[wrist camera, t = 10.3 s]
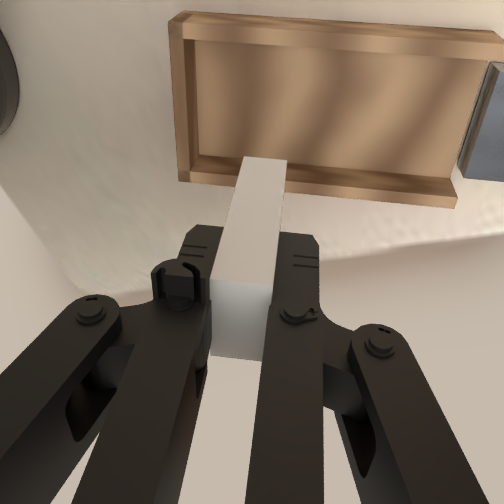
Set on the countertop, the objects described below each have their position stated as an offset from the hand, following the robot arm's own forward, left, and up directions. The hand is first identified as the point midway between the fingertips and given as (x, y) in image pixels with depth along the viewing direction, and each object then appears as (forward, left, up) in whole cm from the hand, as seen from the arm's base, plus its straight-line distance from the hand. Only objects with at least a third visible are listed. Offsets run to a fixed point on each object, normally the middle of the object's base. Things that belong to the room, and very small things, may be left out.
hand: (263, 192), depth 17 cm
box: (+2, -4, -23) cm, 23 cm away
